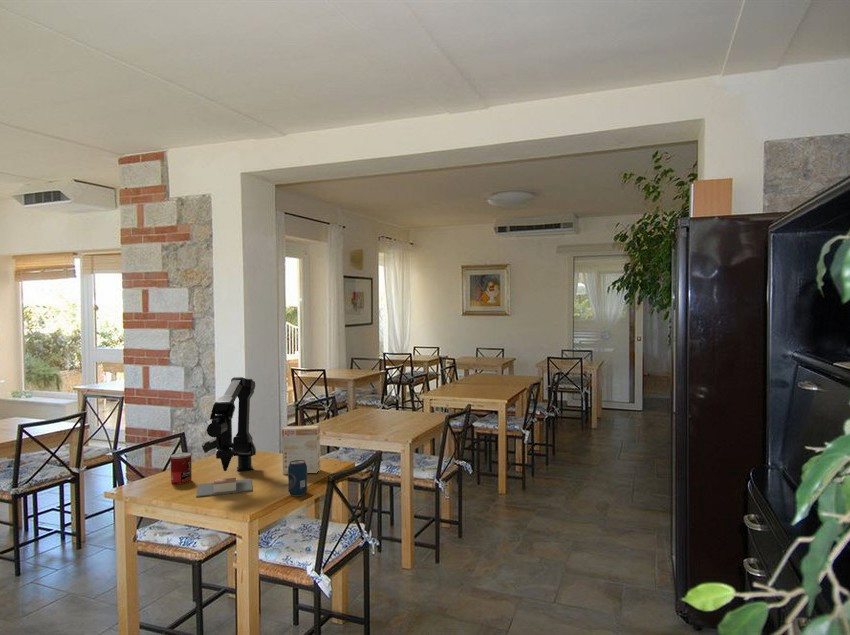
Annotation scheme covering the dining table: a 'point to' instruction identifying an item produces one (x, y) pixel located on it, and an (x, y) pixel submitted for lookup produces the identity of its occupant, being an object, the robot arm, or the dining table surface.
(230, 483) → the slab
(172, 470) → the canned food
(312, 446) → the coffeecake box
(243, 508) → the dining table surface
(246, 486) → the mat
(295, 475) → the soda can
